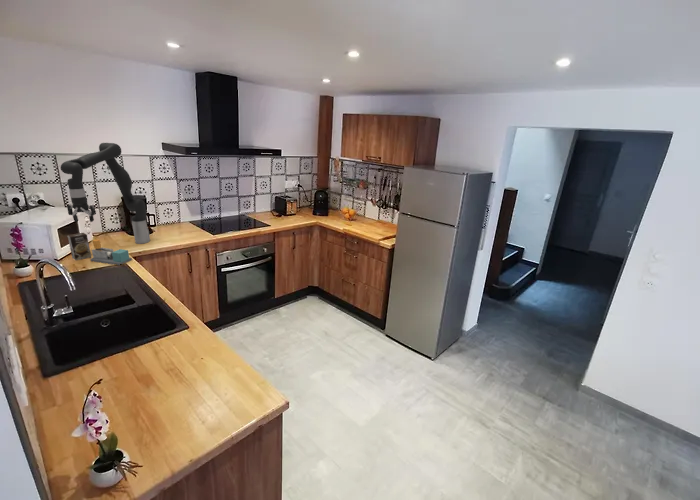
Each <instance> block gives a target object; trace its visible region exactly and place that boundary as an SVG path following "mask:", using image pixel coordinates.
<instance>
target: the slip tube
mask: <svg viewBox="0 0 700 500" xmlns="http://www.w3.org/2000/svg"><path fill="white" fill-rule="evenodd" d="M92 244H93V248H94V249H96V250H101V249H100V248H101V247H102V244H101V240H100V239H94V240H92ZM107 255H108V257H112V258H113V256H112V252H109V251H108V252H107Z"/></svg>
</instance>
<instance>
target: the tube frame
mask: <svg viewBox="0 0 700 500" xmlns="http://www.w3.org/2000/svg"><path fill="white" fill-rule="evenodd" d="M100 249H101V250H96V249H95V248H94V249H91V255H92V257H91V258H90V262H93V261H94V262H95V263H100V262H101V263H102V264H106V263H108V264H109V265H113V264H117V265H116V266H121V265H120V264H122V265H124V264H126V263H129V262H130V261H132V260H133V258H132V257H130V254H129V250H128V249H123V248H120V249H117V250H114V249H113V248H107V247H102V246H101V248H100ZM108 251H109V252H112V256H113V258H112V257H108V255H107V252H108ZM123 263H124V264H123Z"/></svg>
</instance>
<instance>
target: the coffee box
mask: <svg viewBox="0 0 700 500" xmlns="http://www.w3.org/2000/svg"><path fill="white" fill-rule="evenodd" d="M67 239H68V245H69V247H70V248H69V249H70V253H71V258H72V259H73V260H74V261H80V260H83V259H89V258H92V251H91V249H90V244H89V239H88V234H87V233H85V232H79V233H74V234H68V235H67Z"/></svg>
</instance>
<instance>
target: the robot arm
mask: <svg viewBox="0 0 700 500" xmlns="http://www.w3.org/2000/svg"><path fill="white" fill-rule="evenodd" d="M121 155H122V148H121V146H120V145H119V144H117V143H113V142H101V143H100V144H99V146H98V151H95V152H92V153H91V152H90V153H86V154H85V155H82V156H80V157H78V158H74V159H69V160H65V161H64V162H62V163H61V165H60V170H61V172H62V173H64V174H66V175H71V177H70V178H69V179H67V180H66V181H67V182H66V183H67V186H68V192H69V196H70V200H71V203H72V204H68V205H67V206H66V208H67V212H68V213H67V214H68V215H69V216H72V218H73V221H74V222H75V223H77V222H79V218H78V213H85V214H87V215H88V217H89V218H88V219H89V222H90V223H92V222H94V220H95V219H94V216H95V215H97V212H96V209H95V205H94V204H91V205H89V204H88V197H87V194H86V190H85V189H84V188H85V187H84V182H83V178H84V177H83V175H84V170H86V169H89V168H91V167H93V166H95V165H97V164H99V163H102V162H105V163H106V165H107V167H108V168H109V170H110V172H111V174H112V176H113V178H114V181H115V183H116V185H117V186H118V189H119V191H120V193H121V195H122V197H123V201H124V205H125V206H126V208H127V209H128V210H129V211H131V212H135V213H134V214H135V215H132V216H131V224H132V230H133V231H132V232H133V237H134V242H135V244H138V245H139V244H148V243H149V242H150V241H151V237H150V231H149V228H148V225H147V218H146V217H147V207H146V203H145V201H144V200H143V199H138V198H135V197H134V195H133V193H132V188H133V187H132V186H133V182H132V178H131V176H130V174H129V172H128V171H127V170H126V169H125V168H124V167H123V166H122V165H121V164H119V162H118V161H117V159H116V158H118V157H120V156H121Z"/></svg>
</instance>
